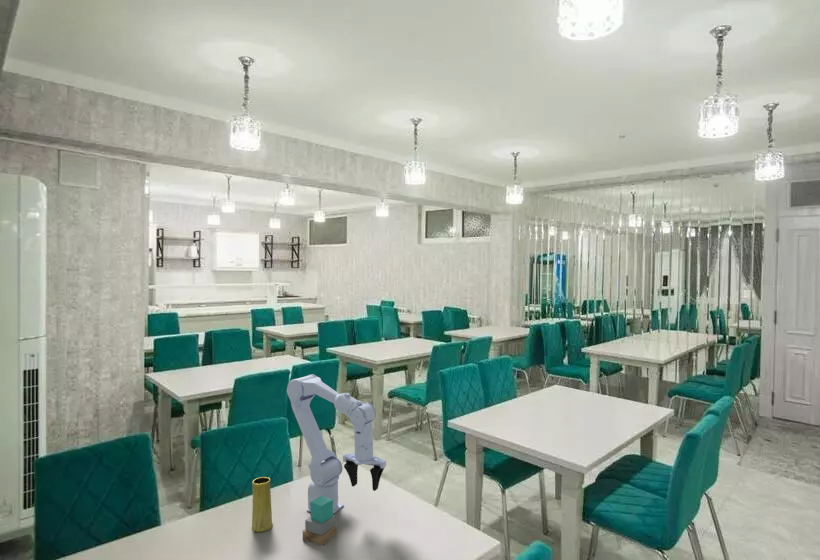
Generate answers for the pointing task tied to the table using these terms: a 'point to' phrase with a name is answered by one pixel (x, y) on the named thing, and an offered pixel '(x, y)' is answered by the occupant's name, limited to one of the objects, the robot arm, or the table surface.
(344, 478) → the table surface
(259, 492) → the vase
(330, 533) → the walnut slab
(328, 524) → the slate slab
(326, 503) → the teal block
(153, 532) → the table surface
